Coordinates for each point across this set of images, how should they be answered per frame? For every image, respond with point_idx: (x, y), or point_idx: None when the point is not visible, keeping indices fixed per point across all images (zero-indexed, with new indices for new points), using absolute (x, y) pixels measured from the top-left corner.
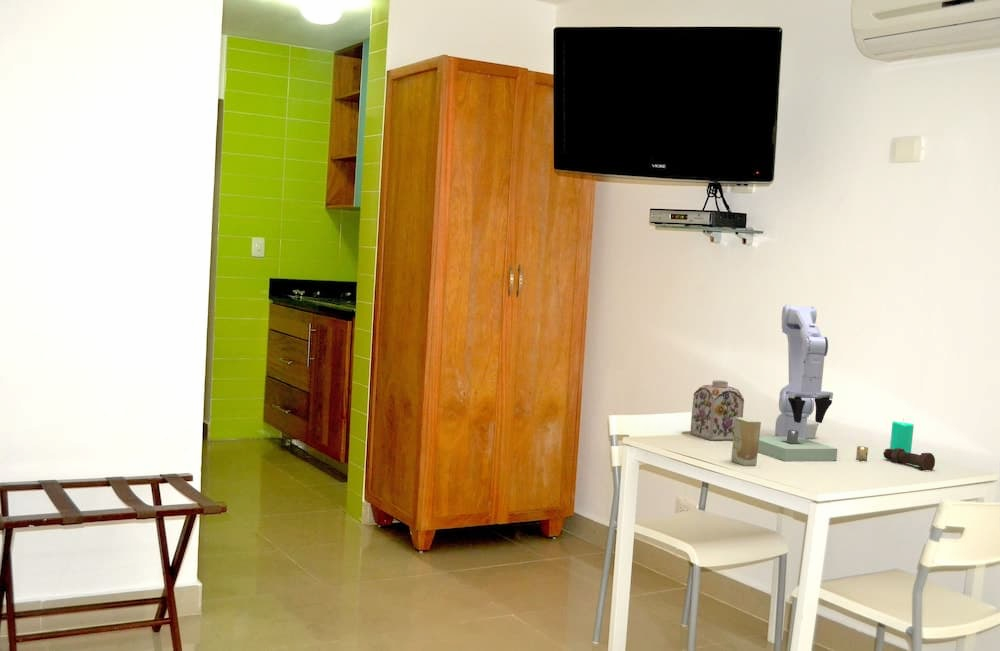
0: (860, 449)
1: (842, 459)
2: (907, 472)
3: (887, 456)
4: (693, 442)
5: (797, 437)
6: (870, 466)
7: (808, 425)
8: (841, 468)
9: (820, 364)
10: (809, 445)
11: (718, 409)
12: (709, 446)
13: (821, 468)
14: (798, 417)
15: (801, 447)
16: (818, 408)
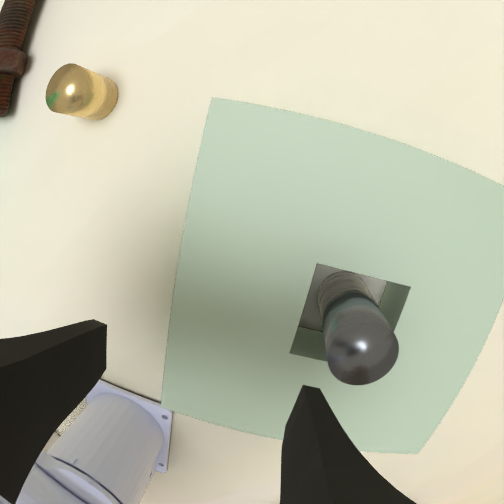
0: (87, 78)
1: (161, 133)
2: None
3: (9, 94)
4: (464, 481)
5: (352, 307)
6: (170, 3)
7: None
8: (358, 3)
9: None
10: (317, 224)
11: None
12: (484, 444)
13: (452, 41)
14: (332, 419)
15: (431, 194)
16: (38, 419)
